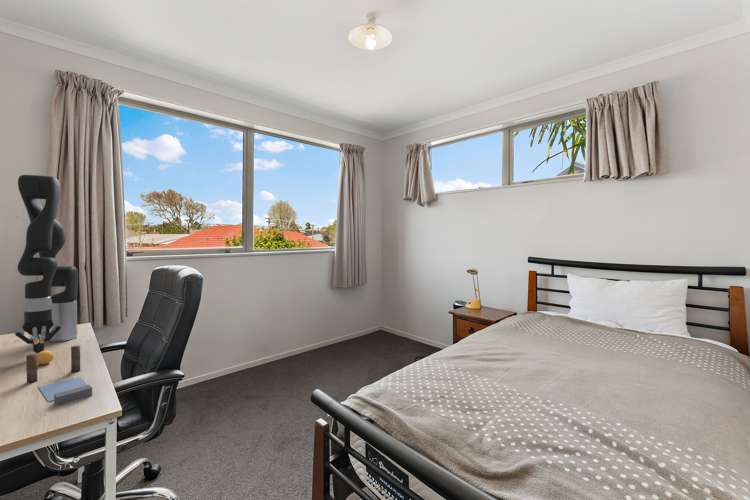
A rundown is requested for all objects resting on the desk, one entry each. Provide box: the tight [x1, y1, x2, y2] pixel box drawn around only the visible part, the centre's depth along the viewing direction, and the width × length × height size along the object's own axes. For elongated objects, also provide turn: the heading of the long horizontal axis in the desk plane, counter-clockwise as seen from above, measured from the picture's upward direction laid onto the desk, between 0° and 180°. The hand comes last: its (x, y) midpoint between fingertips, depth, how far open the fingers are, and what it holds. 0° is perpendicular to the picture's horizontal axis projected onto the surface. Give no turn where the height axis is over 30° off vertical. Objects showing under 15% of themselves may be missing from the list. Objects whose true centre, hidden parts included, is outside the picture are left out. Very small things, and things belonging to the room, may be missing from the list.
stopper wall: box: [53, 384, 93, 407], centre depth 98 cm, size 3×8×2 cm, turn 145°
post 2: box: [70, 344, 81, 373], centre depth 116 cm, size 2×2×9 cm
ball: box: [37, 349, 55, 365], centre depth 121 cm, size 5×5×5 cm
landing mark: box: [38, 376, 88, 403], centre depth 104 cm, size 14×10×1 cm
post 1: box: [25, 353, 38, 384], centre depth 107 cm, size 2×2×9 cm
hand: (38, 352), depth 126 cm, fingers closed
